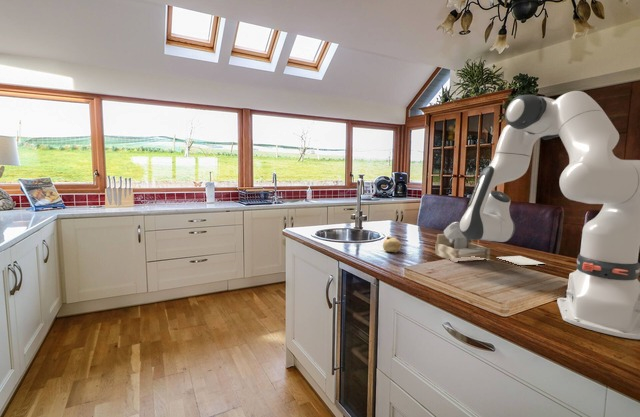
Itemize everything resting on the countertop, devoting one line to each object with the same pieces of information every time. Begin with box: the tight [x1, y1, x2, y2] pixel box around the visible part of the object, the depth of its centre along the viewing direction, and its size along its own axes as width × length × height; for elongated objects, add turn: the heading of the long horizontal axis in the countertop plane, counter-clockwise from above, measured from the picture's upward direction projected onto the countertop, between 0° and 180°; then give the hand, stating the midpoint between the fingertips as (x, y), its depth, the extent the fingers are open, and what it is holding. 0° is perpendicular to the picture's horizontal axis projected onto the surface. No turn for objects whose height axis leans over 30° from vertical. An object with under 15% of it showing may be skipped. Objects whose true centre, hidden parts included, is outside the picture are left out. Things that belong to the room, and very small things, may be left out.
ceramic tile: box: [496, 255, 546, 266], centre depth 134 cm, size 12×12×1 cm
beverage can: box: [454, 238, 467, 249], centre depth 140 cm, size 5×5×12 cm
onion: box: [382, 236, 402, 254], centre depth 147 cm, size 8×8×7 cm
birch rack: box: [434, 233, 491, 260], centre depth 139 cm, size 14×16×9 cm
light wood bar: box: [457, 248, 485, 258], centre depth 134 cm, size 4×12×4 cm, turn 104°
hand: (459, 241), depth 140 cm, fingers open, 7 cm apart
